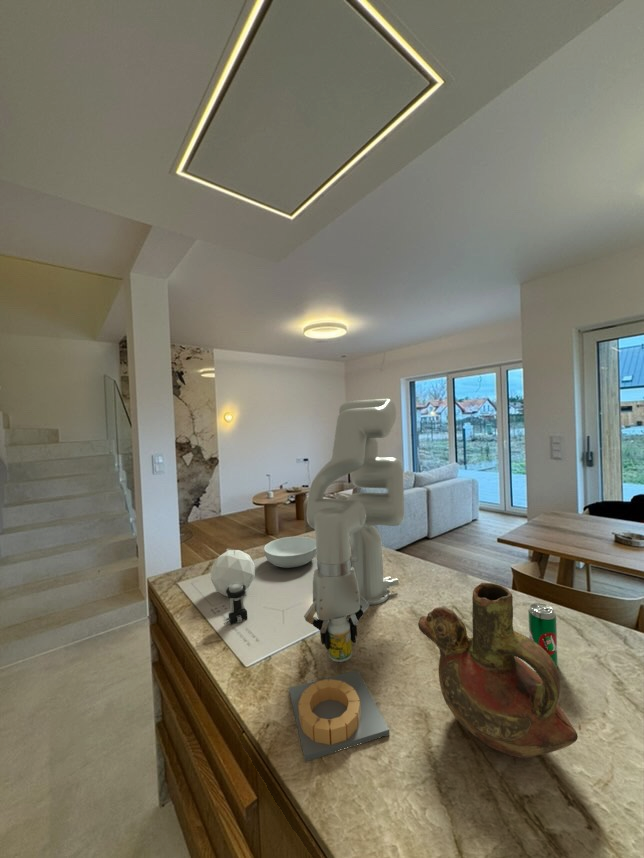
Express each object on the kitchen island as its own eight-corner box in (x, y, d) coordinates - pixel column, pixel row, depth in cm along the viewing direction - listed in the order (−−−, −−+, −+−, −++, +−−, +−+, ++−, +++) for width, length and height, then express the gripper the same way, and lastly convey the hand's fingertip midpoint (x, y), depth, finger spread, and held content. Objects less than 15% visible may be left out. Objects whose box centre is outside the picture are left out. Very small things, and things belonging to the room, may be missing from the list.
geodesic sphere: (198, 571, 117) (207, 544, 110) (237, 558, 127) (247, 532, 120) (215, 612, 109) (226, 585, 102) (255, 594, 118) (267, 569, 111)
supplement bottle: (355, 650, 80) (353, 610, 79) (345, 666, 75) (343, 623, 75) (335, 643, 83) (332, 604, 82) (324, 658, 78) (321, 617, 77)
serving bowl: (329, 557, 138) (328, 539, 138) (298, 579, 121) (296, 560, 120) (287, 548, 150) (286, 532, 149) (253, 568, 132) (252, 550, 132)
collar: (348, 686, 71) (347, 674, 71) (369, 732, 60) (368, 718, 60) (294, 700, 68) (294, 687, 68) (307, 752, 57) (306, 737, 57)
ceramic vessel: (441, 665, 76) (436, 553, 76) (589, 739, 58) (585, 591, 57) (397, 715, 64) (391, 582, 64) (566, 828, 46) (560, 643, 45)
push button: (227, 630, 94) (224, 593, 93) (220, 621, 98) (218, 586, 98) (250, 621, 97) (248, 586, 97) (243, 612, 102) (241, 579, 101)
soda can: (532, 651, 79) (530, 599, 79) (558, 660, 76) (557, 606, 76) (528, 664, 75) (526, 610, 75) (556, 674, 72) (554, 617, 72)
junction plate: (358, 674, 75) (358, 669, 75) (389, 734, 61) (389, 729, 61) (289, 692, 71) (289, 687, 71) (305, 761, 57) (305, 755, 57)
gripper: (363, 551, 83) (368, 624, 85) (293, 564, 79) (298, 641, 80) (376, 564, 76) (381, 644, 77) (299, 580, 72) (306, 663, 73)
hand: (339, 641), depth 79 cm, fingers closed on supplement bottle, 5 cm apart
